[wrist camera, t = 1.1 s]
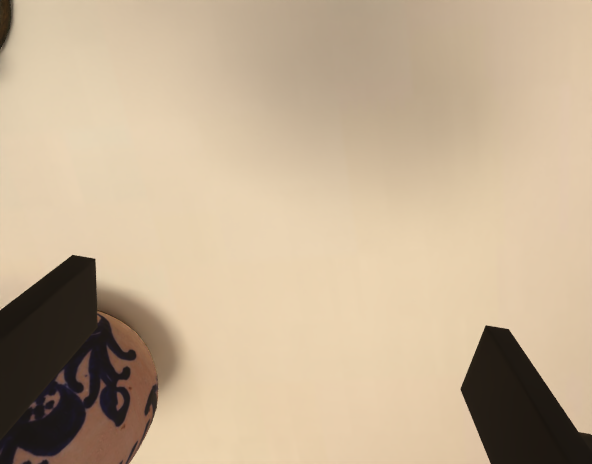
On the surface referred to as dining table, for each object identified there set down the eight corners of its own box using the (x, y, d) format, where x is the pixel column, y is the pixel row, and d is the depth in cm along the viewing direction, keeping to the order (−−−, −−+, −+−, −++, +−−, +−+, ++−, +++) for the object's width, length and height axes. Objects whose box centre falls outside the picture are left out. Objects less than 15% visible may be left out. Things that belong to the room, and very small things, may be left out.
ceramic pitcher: (189, 308, 45) (57, 597, 23) (160, 428, 55) (47, 710, 33) (25, 261, 44) (-285, 521, 22) (25, 393, 53) (-187, 663, 31)
